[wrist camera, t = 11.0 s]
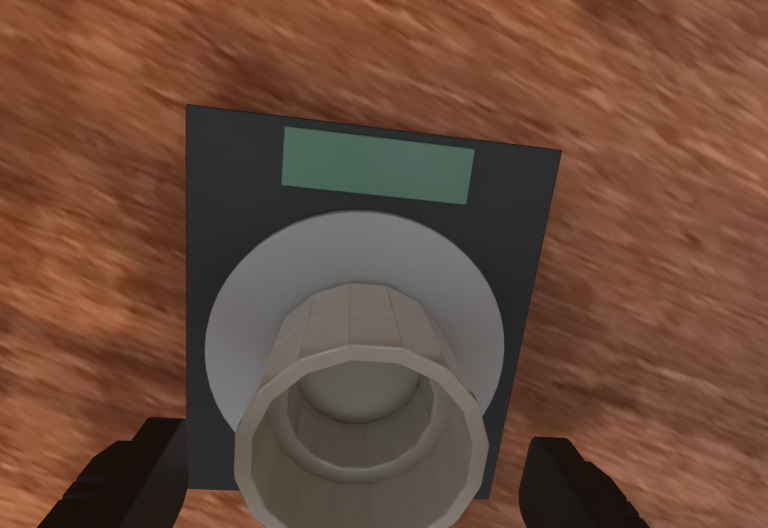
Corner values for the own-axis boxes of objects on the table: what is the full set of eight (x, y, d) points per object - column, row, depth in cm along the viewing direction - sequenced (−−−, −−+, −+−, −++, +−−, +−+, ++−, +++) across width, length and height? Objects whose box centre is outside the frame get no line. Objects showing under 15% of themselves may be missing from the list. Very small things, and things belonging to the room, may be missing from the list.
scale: (210, 110, 16) (177, 102, 13) (532, 149, 17) (571, 150, 14) (206, 446, 19) (180, 501, 16) (472, 457, 20) (493, 511, 17)
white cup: (275, 271, 14) (237, 336, 9) (456, 286, 15) (508, 355, 10) (267, 431, 16) (230, 559, 11) (431, 439, 16) (466, 563, 11)
